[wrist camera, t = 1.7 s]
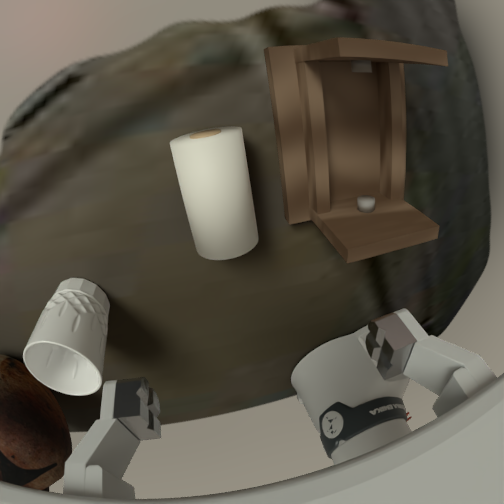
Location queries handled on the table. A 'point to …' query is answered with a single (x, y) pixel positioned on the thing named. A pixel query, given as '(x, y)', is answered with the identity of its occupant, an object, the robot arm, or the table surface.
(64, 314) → the white cup
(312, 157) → the roll holder
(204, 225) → the paper roll
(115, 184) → the table surface
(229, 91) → the table surface
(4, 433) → the ceramic vessel
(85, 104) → the table surface
